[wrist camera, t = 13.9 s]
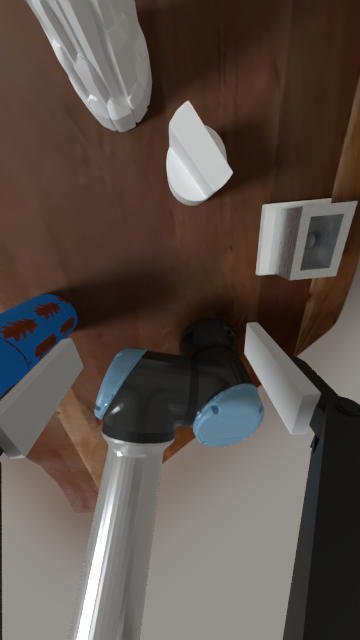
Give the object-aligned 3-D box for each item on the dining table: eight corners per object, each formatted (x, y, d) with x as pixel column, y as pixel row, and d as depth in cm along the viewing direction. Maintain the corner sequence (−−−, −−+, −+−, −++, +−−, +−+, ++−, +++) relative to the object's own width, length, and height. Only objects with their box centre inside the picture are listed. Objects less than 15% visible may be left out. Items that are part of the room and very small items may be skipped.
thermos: (42, 283, 40) (-122, 352, 18) (86, 312, 44) (-4, 401, 21) (22, 317, 44) (-137, 411, 21) (65, 342, 47) (-33, 445, 25)
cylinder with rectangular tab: (228, 178, 33) (254, 153, 22) (190, 216, 36) (197, 211, 25) (195, 127, 30) (208, 70, 19) (156, 173, 32) (148, 146, 22)
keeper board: (309, 268, 41) (334, 276, 34) (255, 273, 41) (270, 282, 35) (325, 199, 35) (359, 192, 29) (262, 205, 35) (282, 200, 29)
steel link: (305, 267, 39) (335, 275, 32) (268, 270, 39) (289, 280, 32) (319, 206, 34) (357, 200, 27) (275, 210, 34) (303, 206, 27)
